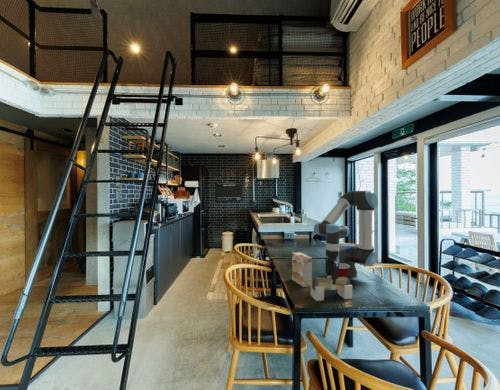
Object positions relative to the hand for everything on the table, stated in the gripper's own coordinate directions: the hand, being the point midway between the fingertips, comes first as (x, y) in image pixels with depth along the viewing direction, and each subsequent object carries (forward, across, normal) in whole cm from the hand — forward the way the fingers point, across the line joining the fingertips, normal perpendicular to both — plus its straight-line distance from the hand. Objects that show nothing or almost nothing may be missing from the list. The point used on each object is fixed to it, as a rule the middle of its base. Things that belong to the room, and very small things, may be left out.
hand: (331, 287), depth 150 cm
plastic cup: (+6, -22, +19) cm, 30 cm away
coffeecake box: (+6, -24, -10) cm, 27 cm away
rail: (0, 0, 0) cm, 0 cm away
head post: (+6, 0, -9) cm, 11 cm away
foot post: (+6, 0, +9) cm, 11 cm away
